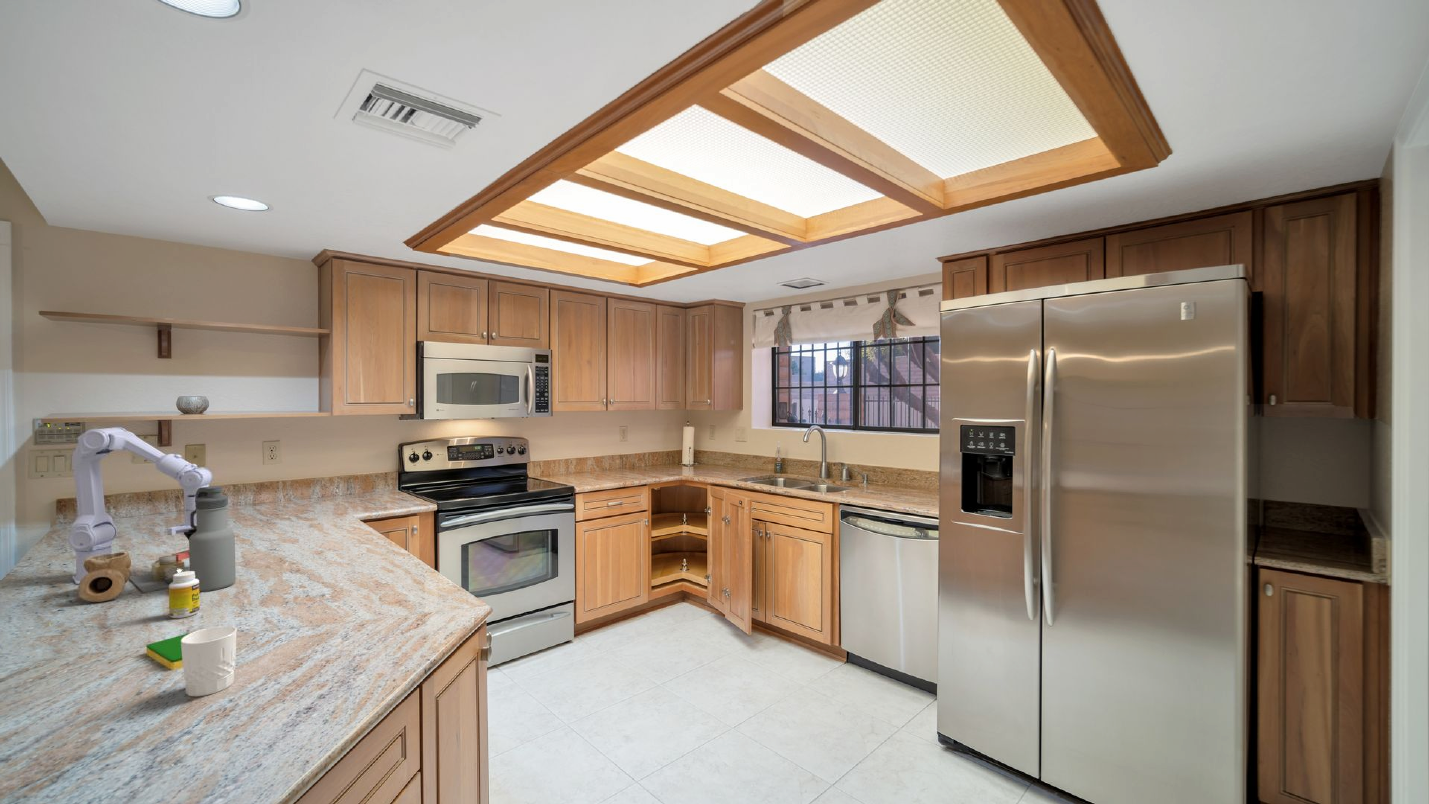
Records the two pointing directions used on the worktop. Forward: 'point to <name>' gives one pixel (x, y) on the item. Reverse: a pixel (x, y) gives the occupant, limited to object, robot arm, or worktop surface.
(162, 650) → the dish sponge
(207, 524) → the water bottle
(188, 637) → the white cup
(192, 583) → the supplement bottle
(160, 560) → the lever
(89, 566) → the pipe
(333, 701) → the worktop surface
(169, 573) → the valve body
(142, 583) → the mat
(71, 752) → the worktop surface
